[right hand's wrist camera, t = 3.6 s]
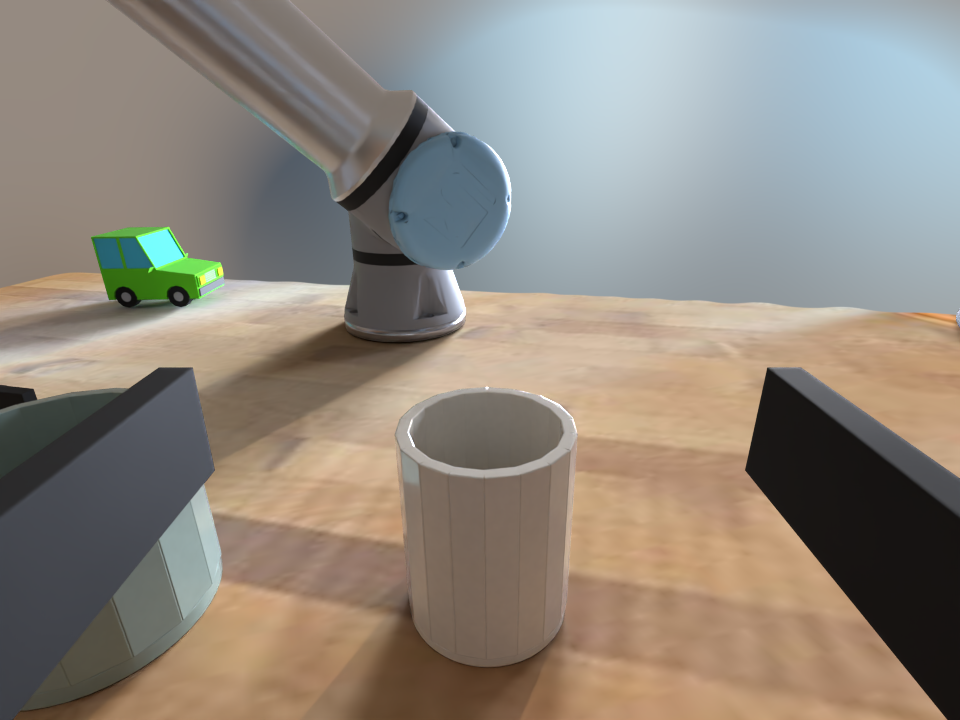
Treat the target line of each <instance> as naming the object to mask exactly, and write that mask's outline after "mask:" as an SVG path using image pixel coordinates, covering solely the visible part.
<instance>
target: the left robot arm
mask: <svg viewBox="0 0 960 720" xmlns="http://www.w3.org/2000/svg"><path fill="white" fill-rule="evenodd" d="M106 1H108V2H109V3H110V4H111V5H113V6H114V7H115V8H117V9H118V10H119V11H120V12H122V13H123V14H124V15H125V16H127V17H128V18H129V19H131V20H132V21H133V22H134V23H136V24H137V25H138V26H140V27H141V28H142V29H143V30H145V31H146V32H147V33H149V34H150V35H151V36H152V37H154V38H155V39H156V40H157V41H159V42H160V43H161V44H163V45H164V46H165V47H166V48H168V49H169V50H170V51H172V52H173V53H174V54H175V55H177V56H178V57H179V58H180V59H182V60H183V61H184V62H186V63H187V64H188V65H189V66H191V67H192V68H193V69H195V70H196V71H197V72H198V73H200V74H201V75H202V76H203V77H205V78H206V79H207V80H209V81H210V82H211V83H212V84H214V85H215V86H216V87H218V88H219V89H220V90H222V91H223V92H224V93H225V94H226V95H228V96H229V97H230V98H232V99H233V100H234V101H235V102H237V103H238V104H239V105H241V106H242V107H243V108H244V109H246V110H247V111H248V112H250V113H251V114H252V115H253V116H255V117H256V118H257V119H258V120H260V121H261V122H262V123H264V124H265V125H266V126H267V127H269V128H270V129H271V130H273V131H274V132H275V133H276V134H278V135H279V136H280V137H281V138H283V139H284V140H285V141H287V142H288V143H289V144H290V145H292V146H293V147H294V148H296V149H297V150H298V151H299V152H301V153H302V154H303V155H305V156H306V157H307V158H308V159H310V160H311V161H312V162H313V163H315V164H316V165H317V166H319V167H320V168H321V169H322V170H324V171H325V173H326V175H327V177H328V182H329V187H330V193H331V197H332V199H333V200H334V201H336V202H337V203H339V204H340V205H341V206H342V207H344V208H345V209H346V210H347V211H348V212H349V221H350V231H351V240H352V249H353V260H354V269H353V274H352V278H351V283H350V287H349V292H348V296H347V301H346V306H345V314H344V318H345V327H346V329H347V331H348V332H349V333H351V334H352V335H354V336H357V337H360V338H363V339H367V340H373V341H381V342H411V341H420V340H427V339H432V338H437V337H440V336H444V335H447V334H449V333H452V332H454V331H456V330H458V329H459V328H461V327H462V326H463V325H464V323H465V306H464V301H463V299H462V296H461V293H460V290H459V287H458V285H457V282H456V279H455V276H454V273H453V271H452V270H455V269H460V268H464V267H467V266H469V265H471V264H474V263H475V262H477V261H479V260H480V259H482V258H483V257H484V256H485V255H487V254H488V253H489V252H490V251H491V250H492V248H493V247H494V246H495V245H496V244H497V242H498V241H499V239H500V237H501V236H502V234H503V232H504V230H505V227H506V225H507V222H508V218H509V215H510V209H511V204H510V202H511V186H510V181H509V177H508V174H507V171H506V168H505V166H504V164H503V163H502V161H501V159H500V158H499V156H498V155H497V154H496V153H495V151H494V150H493V149H492V148H491V147H489V146H488V145H487V144H486V143H484V142H482V141H481V140H479V139H477V138H476V137H475V136H471V135H469V134H467V133H464V132H455V131H454V130H453V129H452V128H451V127H450V126H449V125H448V124H447V123H446V122H445V121H444V120H443V119H441V118H440V117H439V116H438V115H437V114H436V113H435V112H434V111H433V110H432V109H431V108H430V107H429V106H428V105H427V104H426V103H425V102H424V101H423V100H422V99H421V98H420V97H419V96H418V95H417V94H415V93H414V92H413V91H412V90H402V91H389V90H385V89H383V88H382V87H381V86H380V85H379V84H378V83H377V82H376V81H375V80H374V79H373V78H372V77H371V76H370V75H369V74H367V73H366V72H365V71H364V70H363V69H362V68H361V67H360V66H359V65H358V64H357V63H356V62H355V61H354V60H353V59H351V58H350V57H349V56H348V55H347V54H346V53H345V52H344V51H343V50H342V49H341V48H340V47H339V46H338V45H337V44H335V43H334V42H333V41H332V40H331V39H330V38H329V37H328V36H327V35H326V34H325V33H324V32H323V31H322V30H321V29H319V28H318V27H317V26H316V25H315V24H314V23H313V22H312V21H311V20H310V19H309V18H308V17H307V16H306V15H305V14H304V13H302V12H301V11H300V10H299V9H298V8H297V7H296V6H295V5H294V4H293V3H292V2H291V1H290V0H106ZM35 400H37V398H36V395H35V392H34V389H30V388H20V387H11V386H6V385H0V410H1V409H4V408H7V407H10V406H13V405H18V404H21V403H25V402H30V401H35Z"/></svg>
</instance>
